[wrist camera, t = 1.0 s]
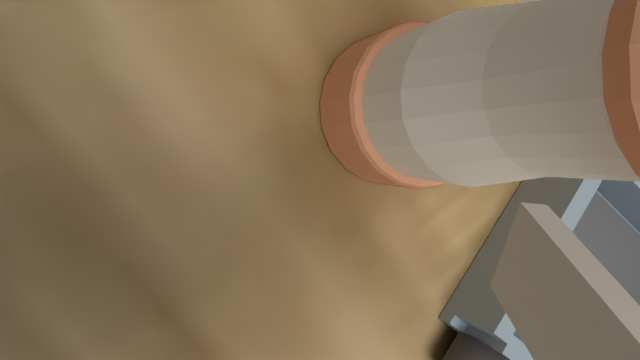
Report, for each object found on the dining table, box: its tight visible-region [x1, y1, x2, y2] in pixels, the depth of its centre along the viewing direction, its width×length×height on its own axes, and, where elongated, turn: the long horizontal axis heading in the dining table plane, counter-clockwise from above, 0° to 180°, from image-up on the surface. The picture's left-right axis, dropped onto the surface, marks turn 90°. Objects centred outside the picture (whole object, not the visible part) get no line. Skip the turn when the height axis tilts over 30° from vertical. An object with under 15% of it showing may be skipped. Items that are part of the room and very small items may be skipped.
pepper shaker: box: [320, 0, 640, 189], centre depth 19 cm, size 7×7×19 cm
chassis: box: [439, 177, 640, 360], centre depth 31 cm, size 15×16×4 cm
